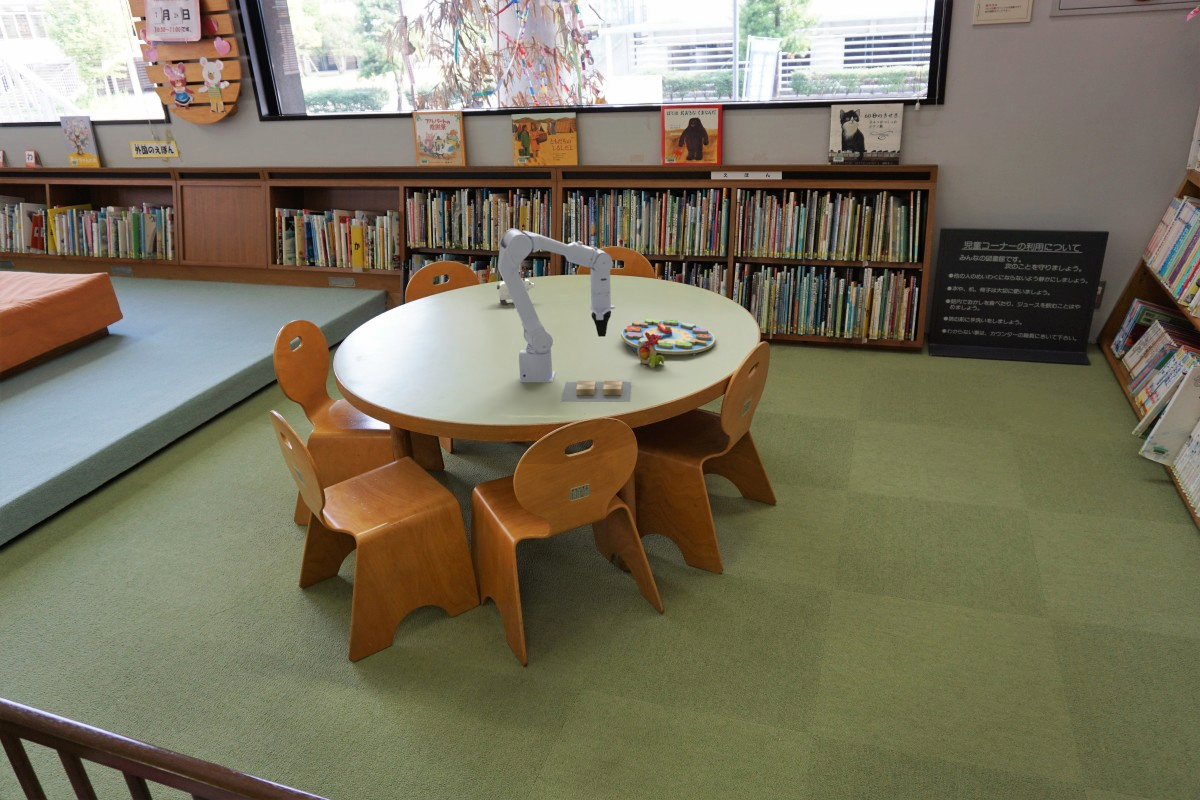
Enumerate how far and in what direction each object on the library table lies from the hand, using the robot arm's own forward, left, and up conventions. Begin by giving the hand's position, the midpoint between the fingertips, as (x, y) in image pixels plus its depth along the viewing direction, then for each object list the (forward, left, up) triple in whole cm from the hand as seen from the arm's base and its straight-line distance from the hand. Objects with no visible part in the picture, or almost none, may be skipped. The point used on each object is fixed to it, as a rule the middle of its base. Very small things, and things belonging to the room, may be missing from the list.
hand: (601, 335), depth 241 cm
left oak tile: (-3, -16, -9) cm, 19 cm away
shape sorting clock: (+20, +23, -11) cm, 32 cm away
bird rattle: (+14, +2, -11) cm, 18 cm away
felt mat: (0, -19, -10) cm, 22 cm away
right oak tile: (+4, -16, -9) cm, 19 cm away
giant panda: (-38, +70, -11) cm, 80 cm away
